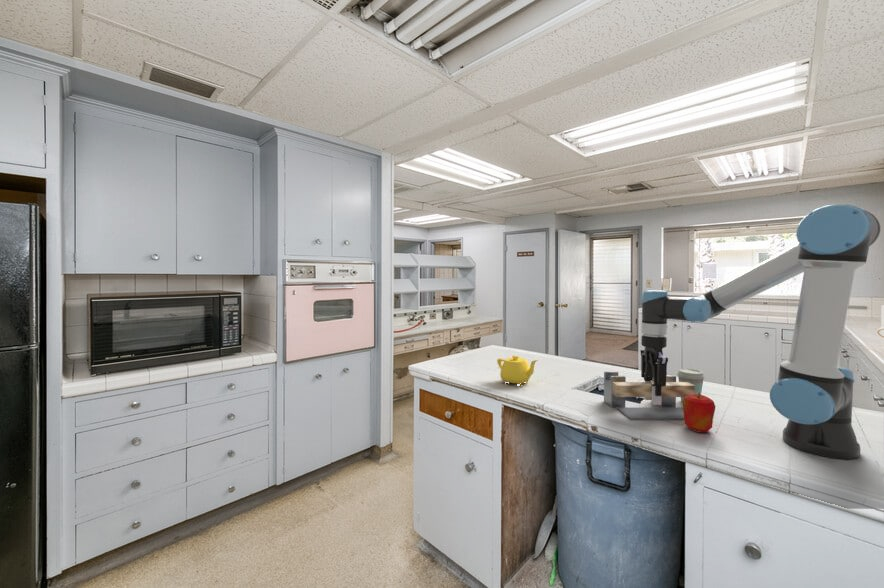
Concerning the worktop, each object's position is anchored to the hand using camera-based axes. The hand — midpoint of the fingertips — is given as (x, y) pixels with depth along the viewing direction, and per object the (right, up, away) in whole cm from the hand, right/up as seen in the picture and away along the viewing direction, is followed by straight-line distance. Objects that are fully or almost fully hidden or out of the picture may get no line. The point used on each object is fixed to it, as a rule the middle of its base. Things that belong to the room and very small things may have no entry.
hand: (652, 401), depth 128 cm
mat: (+2, -4, 0) cm, 5 cm away
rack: (+1, -4, +10) cm, 11 cm away
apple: (+7, -5, -13) cm, 15 cm away
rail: (0, +2, 0) cm, 2 cm away
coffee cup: (+21, -4, +11) cm, 24 cm away
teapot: (-39, -3, +40) cm, 56 cm away
